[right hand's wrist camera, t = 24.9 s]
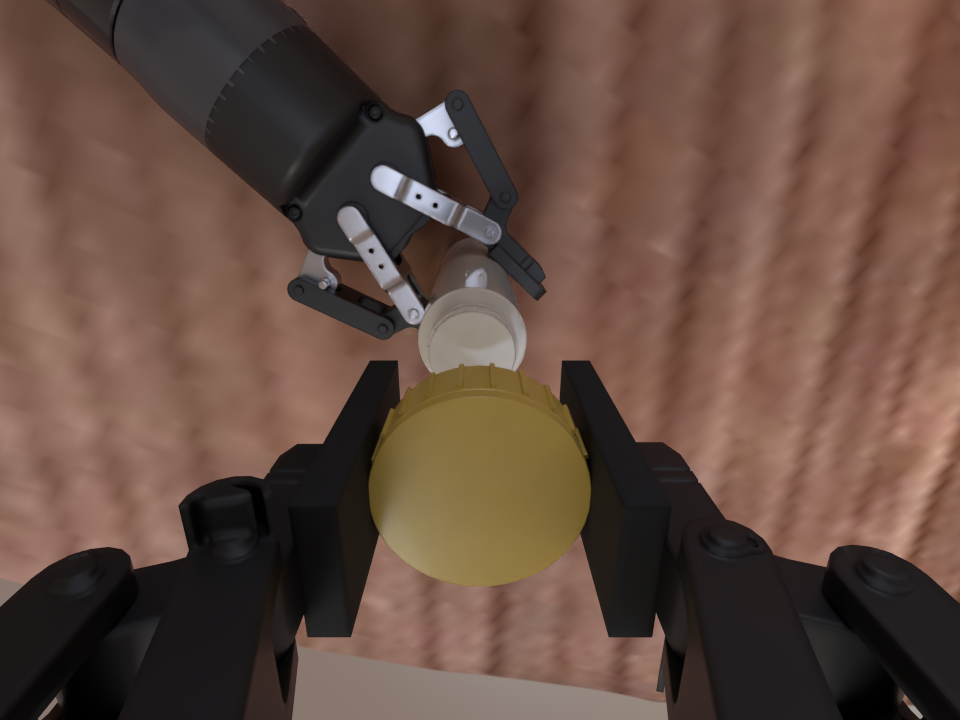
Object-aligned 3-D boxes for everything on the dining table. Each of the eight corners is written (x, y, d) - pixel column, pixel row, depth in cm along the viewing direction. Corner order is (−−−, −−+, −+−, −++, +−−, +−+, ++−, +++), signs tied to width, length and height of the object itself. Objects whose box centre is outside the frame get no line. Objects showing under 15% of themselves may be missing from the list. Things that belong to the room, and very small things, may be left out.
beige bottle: (516, 255, 34) (552, 328, 18) (487, 311, 35) (498, 425, 20) (457, 225, 33) (443, 276, 18) (430, 284, 35) (394, 379, 19)
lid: (352, 500, 13) (334, 549, 11) (422, 328, 11) (412, 356, 9) (528, 560, 13) (534, 615, 12) (616, 406, 12) (637, 444, 10)
